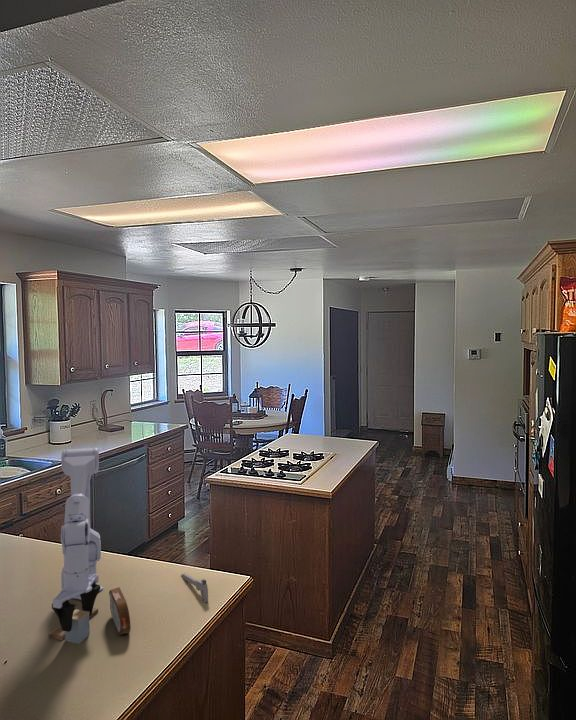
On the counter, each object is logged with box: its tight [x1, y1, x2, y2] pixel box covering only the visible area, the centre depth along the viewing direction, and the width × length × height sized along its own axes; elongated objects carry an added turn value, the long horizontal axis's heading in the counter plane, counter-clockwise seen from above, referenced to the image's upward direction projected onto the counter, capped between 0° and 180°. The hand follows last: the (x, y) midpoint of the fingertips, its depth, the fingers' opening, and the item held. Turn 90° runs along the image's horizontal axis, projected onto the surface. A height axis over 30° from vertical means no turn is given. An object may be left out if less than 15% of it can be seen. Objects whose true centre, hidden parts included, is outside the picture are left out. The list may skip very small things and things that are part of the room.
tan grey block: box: [64, 608, 91, 644], centre depth 131 cm, size 4×4×6 cm
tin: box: [108, 586, 131, 636], centre depth 136 cm, size 15×3×8 cm, turn 29°
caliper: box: [180, 572, 209, 603], centre depth 157 cm, size 20×1×6 cm, turn 31°
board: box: [48, 607, 99, 641], centre depth 137 cm, size 4×14×1 cm, turn 163°
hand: (77, 622), depth 131 cm, fingers open, 7 cm apart
